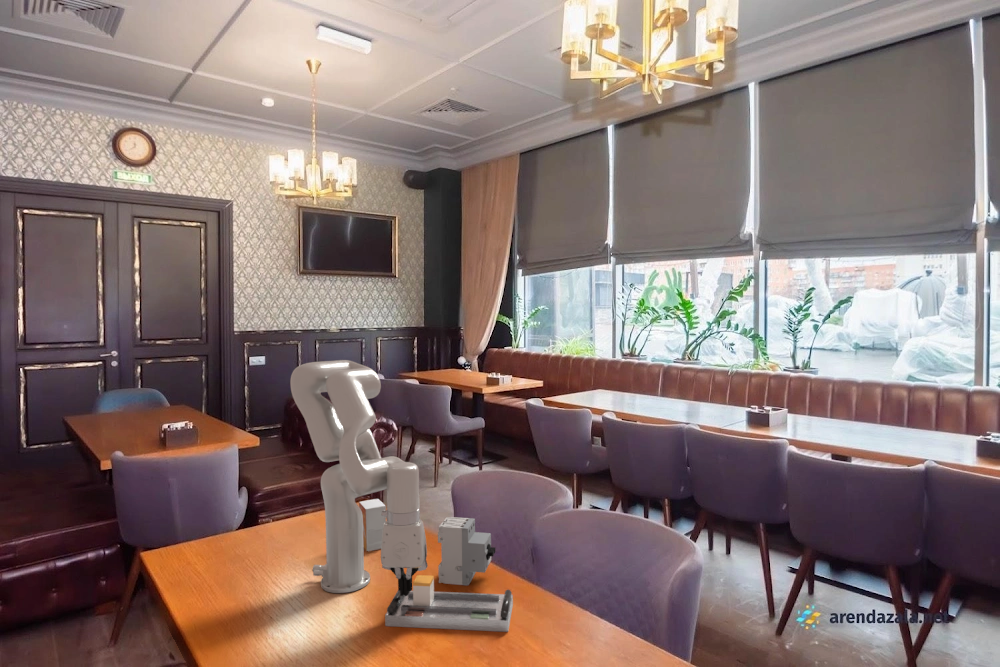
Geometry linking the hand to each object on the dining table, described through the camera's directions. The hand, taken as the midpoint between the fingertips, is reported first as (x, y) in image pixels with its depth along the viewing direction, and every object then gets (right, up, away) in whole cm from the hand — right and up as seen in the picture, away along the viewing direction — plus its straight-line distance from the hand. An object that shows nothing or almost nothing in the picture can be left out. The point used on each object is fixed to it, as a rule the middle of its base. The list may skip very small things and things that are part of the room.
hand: (405, 593), depth 137 cm
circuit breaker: (+14, -4, +18) cm, 23 cm away
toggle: (+4, -2, 0) cm, 5 cm away
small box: (-17, -4, +41) cm, 45 cm away
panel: (+11, -5, -1) cm, 12 cm away
